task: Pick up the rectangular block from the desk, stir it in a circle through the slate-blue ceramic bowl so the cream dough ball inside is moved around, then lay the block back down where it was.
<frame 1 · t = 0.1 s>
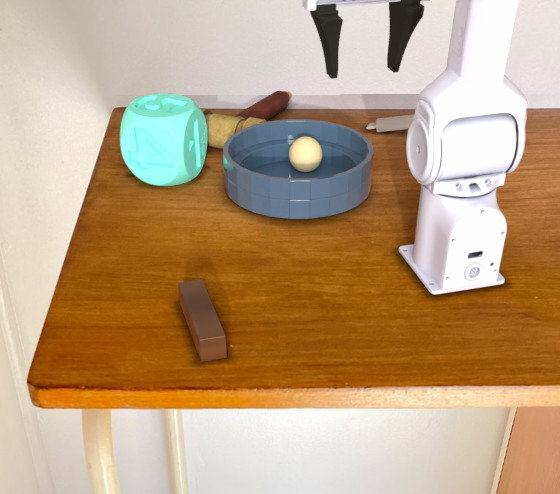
hand: (362, 72, 100), 10 cm above the table, tool pointing down, fingers open, 7 cm apart
dough ball: (305, 154, 102), point 3 cm above the table, touching bowl
rectangular block: (202, 330, 80), on the table
decorative dice: (167, 174, 104), on the table
caliper: (442, 137, 112), on the table
bowl: (297, 189, 101), on the table
gavel: (256, 129, 114), on the table
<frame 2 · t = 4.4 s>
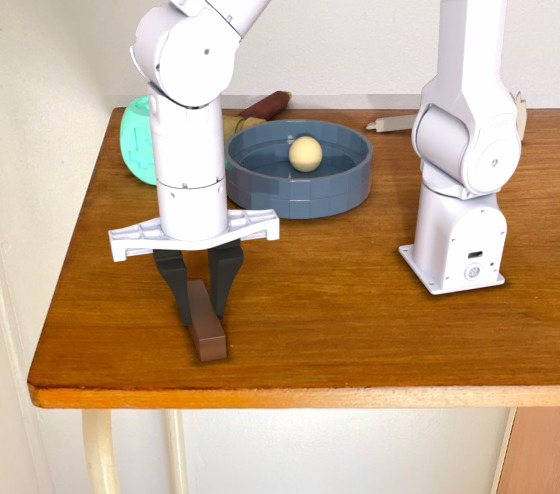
hand: (201, 317, 79), 1 cm above the table, tool pointing down, fingers closed on rectangular block, 2 cm apart
rectangular block: (202, 330, 80), on the table, touching gripper
everything else where it was.
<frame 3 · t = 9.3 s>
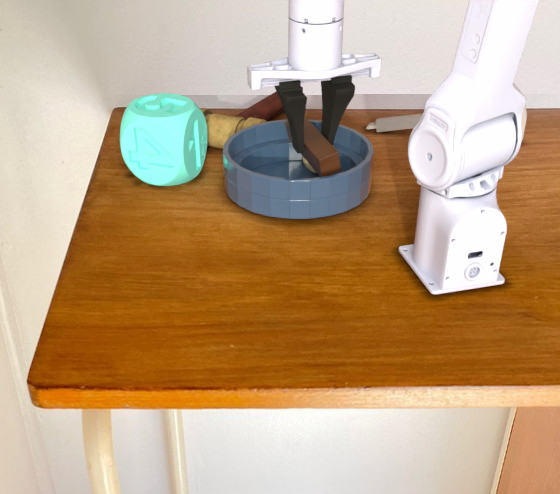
hand: (312, 148, 97), 5 cm above the table, tool pointing down, fingers closed on rectangular block, 3 cm apart
dough ball: (319, 155, 102), point 3 cm above the table, tilted 36°, touching bowl, rectangular block
rectangular block: (314, 155, 98), point 4 cm above the table, tilted 14°, touching dough ball, gripper
everything else where it was.
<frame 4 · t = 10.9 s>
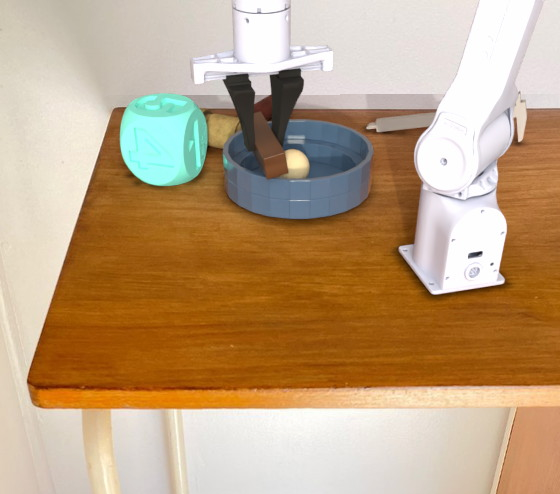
hand: (263, 146, 92), 7 cm above the table, tool pointing down, fingers closed on rectangular block, 2 cm apart
dough ball: (292, 167, 99), point 3 cm above the table, tilted 100°, touching bowl
rectangular block: (266, 154, 93), point 6 cm above the table, tilted 11°, touching gripper
everything else where it was.
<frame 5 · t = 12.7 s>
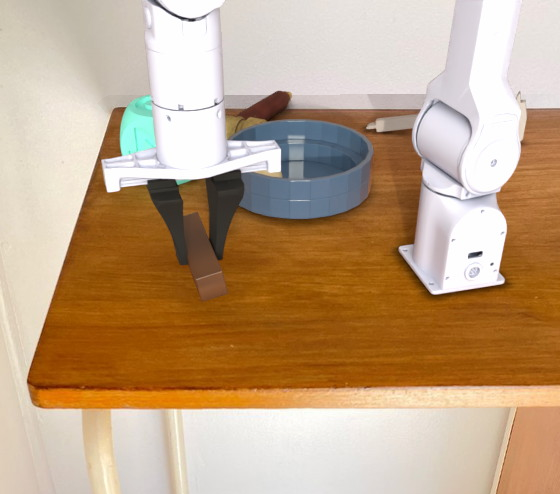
hand: (199, 257, 75), 7 cm above the table, tool pointing down, fingers closed on rectangular block, 2 cm apart
dough ball: (265, 179, 97), point 3 cm above the table, tilted 130°, touching bowl
rectangular block: (202, 266, 76), point 6 cm above the table, tilted 11°, touching gripper
everything else where it was.
when the fingers open (2 cm above the table, at t = 14.3 s): rectangular block stays where it is, on the table.
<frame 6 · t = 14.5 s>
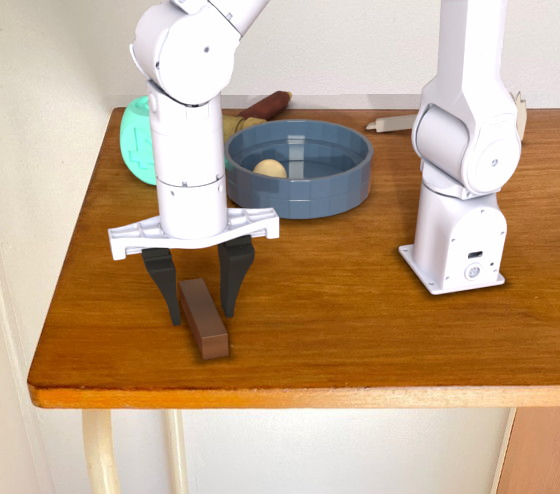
hand: (201, 316, 79), 2 cm above the table, tool pointing down, fingers open, 4 cm apart
dough ball: (269, 178, 97), point 3 cm above the table, tilted 146°, touching bowl
rectangular block: (203, 328, 80), on the table
everything else where it was.
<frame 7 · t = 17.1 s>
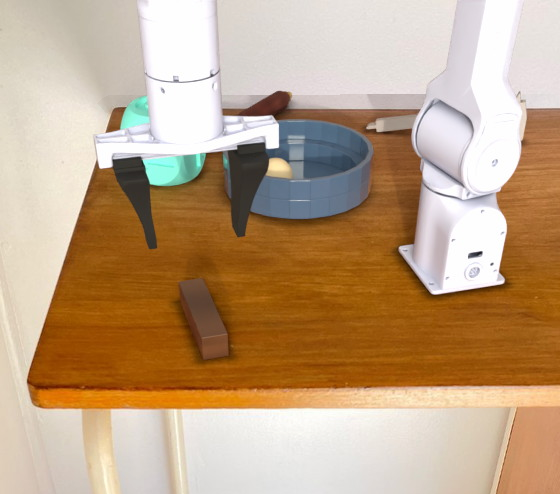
hand: (195, 237, 73), 9 cm above the table, tool pointing down, fingers open, 7 cm apart
dough ball: (275, 176, 97), point 3 cm above the table, tilted 166°, touching bowl
everything else where it was.
at the end: dough ball moved 7.0 cm from its start; dough ball inside the target area in the bowl (3.3 cm from its centre), point 2.6 cm above the bowl's base; rectangular block inside the target area (0.3 cm from its centre), on the table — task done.
